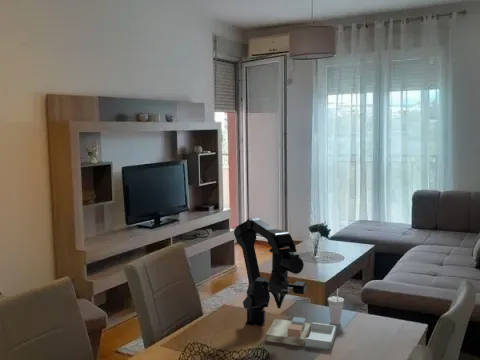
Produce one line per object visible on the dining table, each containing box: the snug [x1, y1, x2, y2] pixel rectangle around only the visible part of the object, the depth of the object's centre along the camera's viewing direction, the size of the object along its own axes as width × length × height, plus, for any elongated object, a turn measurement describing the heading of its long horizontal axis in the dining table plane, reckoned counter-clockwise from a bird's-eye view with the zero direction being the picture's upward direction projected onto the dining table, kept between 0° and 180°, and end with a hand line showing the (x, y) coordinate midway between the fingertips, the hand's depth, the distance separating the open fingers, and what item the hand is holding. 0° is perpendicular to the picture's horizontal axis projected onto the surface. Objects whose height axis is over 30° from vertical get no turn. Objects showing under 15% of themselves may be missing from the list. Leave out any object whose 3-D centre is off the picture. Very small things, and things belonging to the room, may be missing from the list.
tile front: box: [288, 324, 302, 337], centre depth 180 cm, size 4×4×2 cm
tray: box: [304, 322, 337, 351], centre depth 181 cm, size 9×15×3 cm, turn 162°
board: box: [264, 318, 312, 347], centre depth 185 cm, size 14×15×2 cm
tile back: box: [291, 316, 307, 329], centre depth 187 cm, size 4×4×2 cm
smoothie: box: [327, 287, 345, 325], centre depth 196 cm, size 6×6×14 cm
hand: (279, 308), depth 181 cm, fingers closed
